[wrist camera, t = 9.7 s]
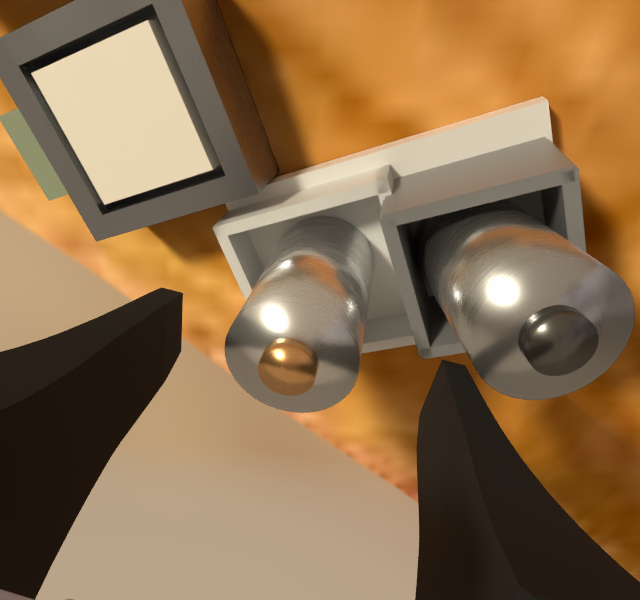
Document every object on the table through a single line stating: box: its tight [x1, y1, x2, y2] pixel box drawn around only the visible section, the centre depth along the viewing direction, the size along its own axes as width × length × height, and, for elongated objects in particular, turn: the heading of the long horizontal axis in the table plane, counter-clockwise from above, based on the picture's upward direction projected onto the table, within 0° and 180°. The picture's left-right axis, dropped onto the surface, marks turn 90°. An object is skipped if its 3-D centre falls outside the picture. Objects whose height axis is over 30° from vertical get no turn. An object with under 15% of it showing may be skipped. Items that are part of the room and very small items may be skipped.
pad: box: [31, 20, 220, 205], centre depth 15 cm, size 4×4×1 cm
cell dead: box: [414, 199, 635, 400], centre depth 13 cm, size 4×4×6 cm
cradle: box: [0, 0, 279, 241], centre depth 16 cm, size 6×8×3 cm
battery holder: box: [212, 96, 586, 359], centre depth 16 cm, size 7×11×4 cm, turn 109°
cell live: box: [225, 216, 375, 413], centre depth 15 cm, size 4×4×6 cm
